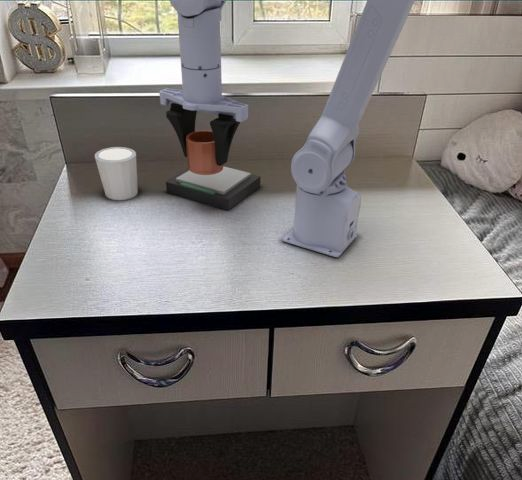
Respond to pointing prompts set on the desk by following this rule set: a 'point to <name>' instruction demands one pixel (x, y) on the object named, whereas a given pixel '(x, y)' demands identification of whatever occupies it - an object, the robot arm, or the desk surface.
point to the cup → (202, 153)
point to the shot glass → (118, 172)
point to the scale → (214, 187)
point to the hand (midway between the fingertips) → (205, 159)
